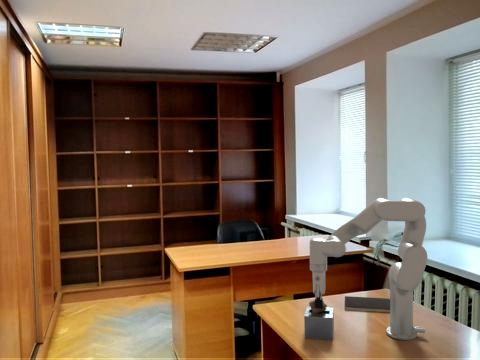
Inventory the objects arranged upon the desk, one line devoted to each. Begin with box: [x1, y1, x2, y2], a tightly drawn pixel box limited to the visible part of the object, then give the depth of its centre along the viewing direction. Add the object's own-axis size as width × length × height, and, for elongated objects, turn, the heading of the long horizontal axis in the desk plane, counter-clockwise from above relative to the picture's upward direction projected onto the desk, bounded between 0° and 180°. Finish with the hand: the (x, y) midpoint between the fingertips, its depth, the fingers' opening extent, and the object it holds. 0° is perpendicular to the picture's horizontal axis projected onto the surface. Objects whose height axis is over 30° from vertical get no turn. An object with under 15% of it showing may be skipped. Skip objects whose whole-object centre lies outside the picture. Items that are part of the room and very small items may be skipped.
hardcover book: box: [344, 295, 390, 313], centre depth 222 cm, size 16×23×2 cm
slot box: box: [303, 305, 335, 342], centre depth 190 cm, size 12×12×10 cm
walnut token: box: [308, 299, 326, 313], centre depth 189 cm, size 6×2×5 cm, turn 74°
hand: (318, 306), depth 189 cm, fingers closed on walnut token, 1 cm apart
